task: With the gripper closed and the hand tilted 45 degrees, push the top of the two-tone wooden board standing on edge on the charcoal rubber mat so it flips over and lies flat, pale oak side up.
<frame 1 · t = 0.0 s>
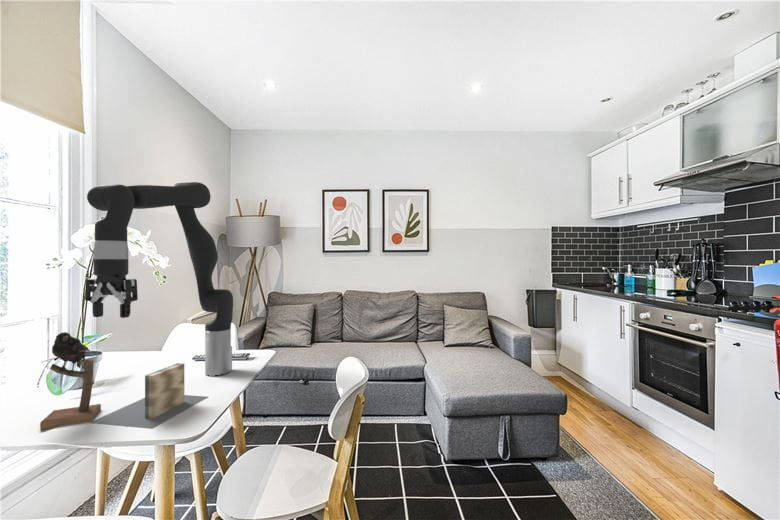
hand: (111, 317, 96), 29 cm above the table, tool pointing down, fingers open, 8 cm apart
mat: (154, 409, 105), on the table
bird figurine: (76, 416, 101), on the table
board: (165, 409, 104), resting on mat
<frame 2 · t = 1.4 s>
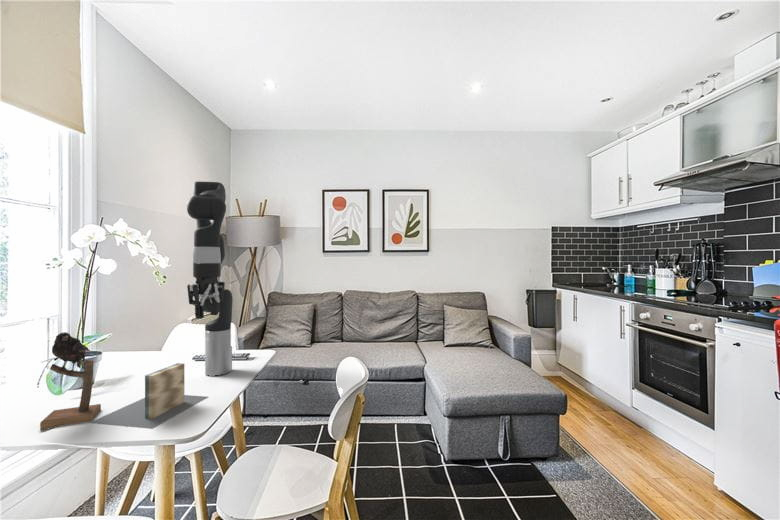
hand: (207, 316, 108), 28 cm above the table, tool pointing down, fingers open, 6 cm apart
nothing on the table moved.
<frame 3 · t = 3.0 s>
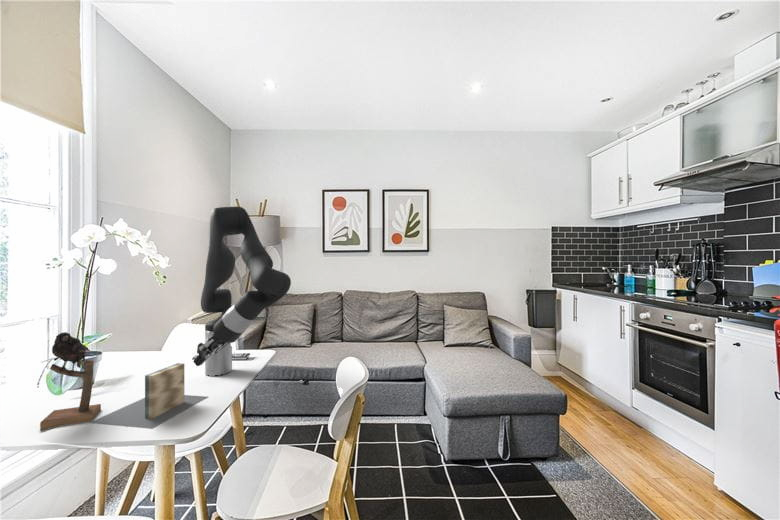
hand: (197, 363, 103), 15 cm above the table, tool tilted 45°, fingers closed
nothing on the table moved.
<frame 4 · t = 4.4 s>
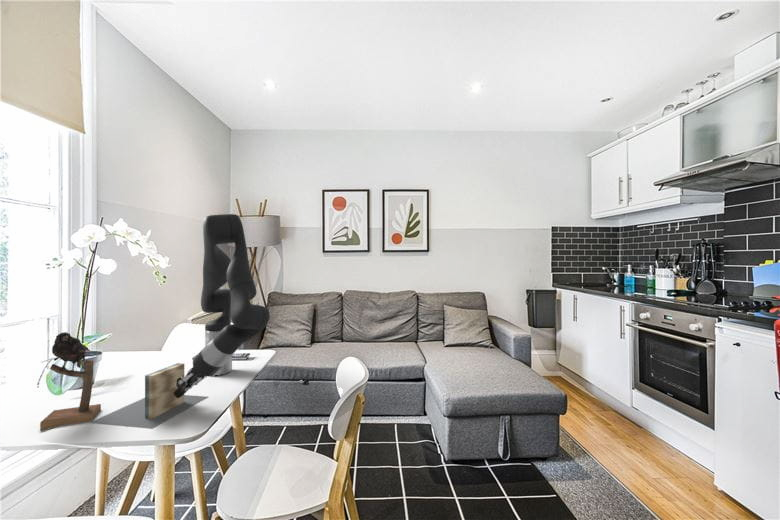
hand: (177, 395, 104), 5 cm above the table, tool tilted 45°, fingers closed
nothing on the table moved.
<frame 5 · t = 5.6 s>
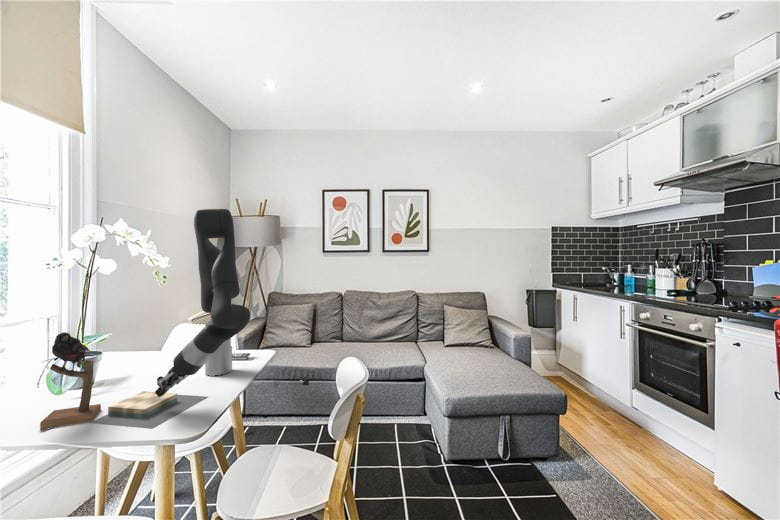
hand: (158, 394, 105), 5 cm above the table, tool tilted 45°, fingers closed
board: (161, 405, 105), point 2 cm above the table, tilted 90°, touching mat
everything else where it was.
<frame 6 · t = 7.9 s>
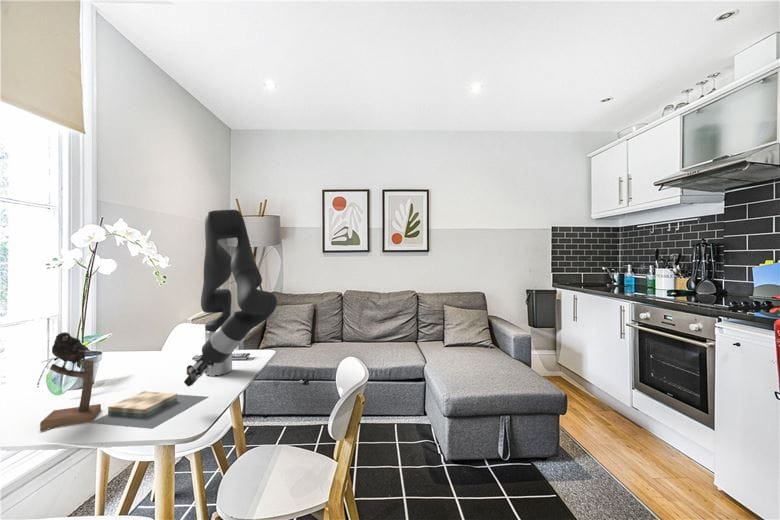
hand: (187, 383, 104), 8 cm above the table, tool tilted 45°, fingers closed
nothing on the table moved.
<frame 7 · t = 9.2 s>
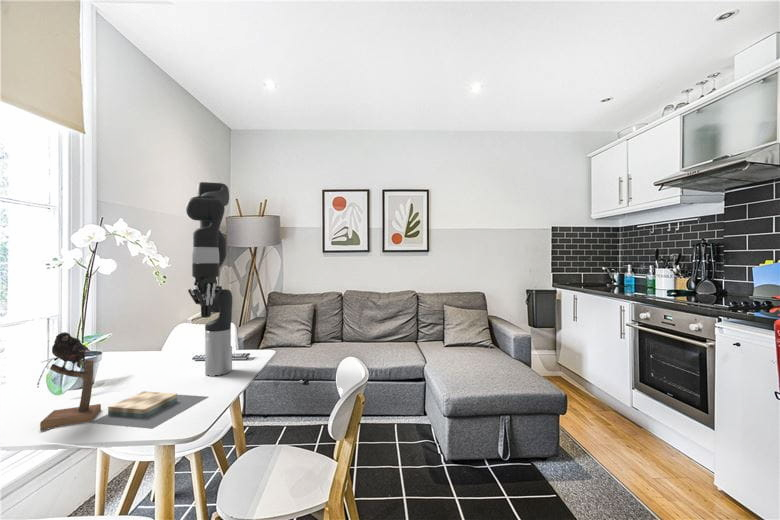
hand: (206, 317, 110), 27 cm above the table, tool pointing down, fingers closed
nothing on the table moved.
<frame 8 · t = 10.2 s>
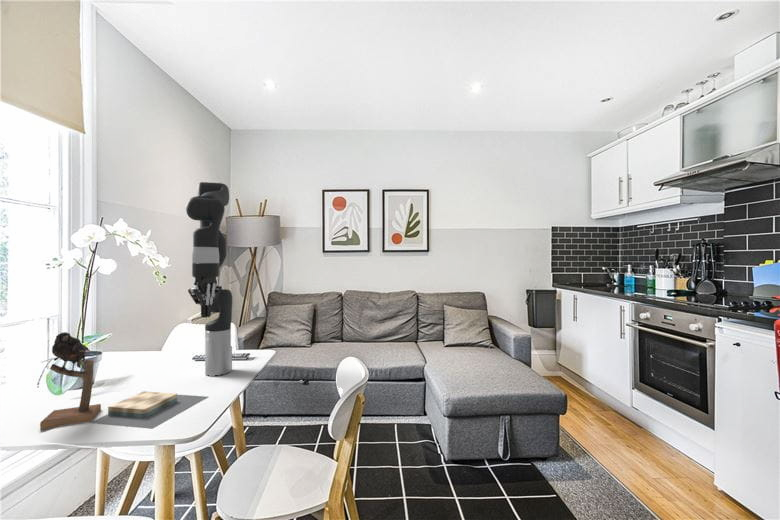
hand: (205, 317, 110), 27 cm above the table, tool pointing down, fingers closed
nothing on the table moved.
at the end: board tilted 90°; board inside the target area (4.1 cm from its centre), point 1.6 cm above the table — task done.
